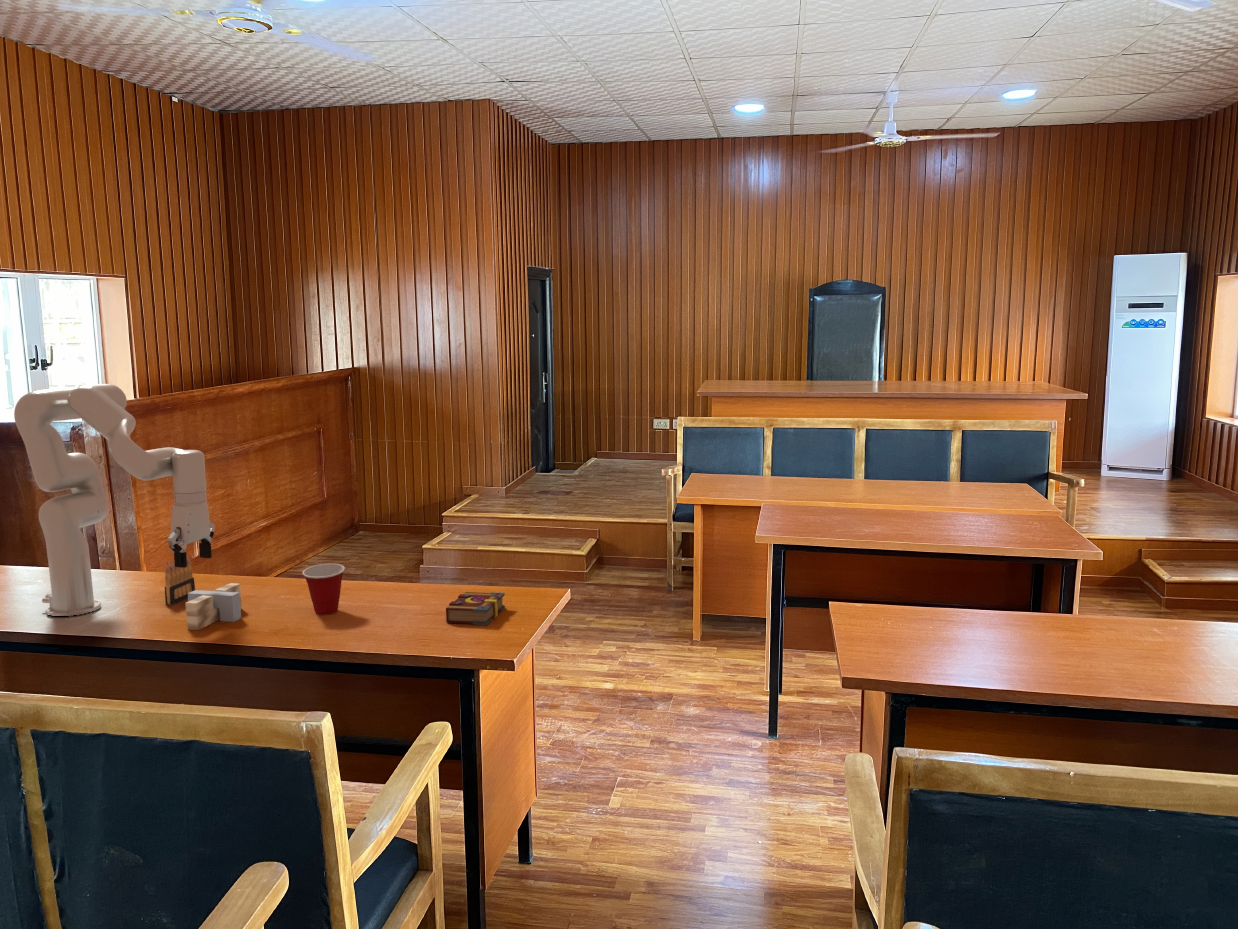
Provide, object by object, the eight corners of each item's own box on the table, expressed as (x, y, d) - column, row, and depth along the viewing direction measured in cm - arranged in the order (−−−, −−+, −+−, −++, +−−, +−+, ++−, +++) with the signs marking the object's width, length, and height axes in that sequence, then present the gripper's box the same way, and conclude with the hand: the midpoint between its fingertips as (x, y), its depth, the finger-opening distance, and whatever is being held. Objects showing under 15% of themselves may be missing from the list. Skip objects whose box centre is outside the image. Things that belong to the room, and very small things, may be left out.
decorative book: (445, 624, 223) (444, 605, 223) (466, 605, 239) (466, 588, 238) (487, 626, 221) (486, 607, 221) (506, 607, 237) (506, 589, 236)
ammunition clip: (171, 605, 241) (167, 563, 239) (165, 605, 241) (161, 563, 240) (195, 594, 252) (192, 553, 250) (190, 594, 252) (186, 553, 250)
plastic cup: (298, 618, 228) (295, 574, 227) (313, 606, 239) (311, 563, 237) (339, 618, 228) (336, 574, 226) (352, 605, 239) (350, 563, 237)
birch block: (198, 630, 220) (196, 603, 219) (187, 629, 220) (185, 602, 219) (241, 608, 237) (239, 583, 236) (231, 608, 238) (230, 583, 237)
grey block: (189, 619, 229) (187, 593, 228) (197, 615, 232) (195, 590, 231) (233, 621, 226) (232, 595, 225) (241, 618, 229) (239, 592, 228)
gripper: (199, 491, 234) (202, 553, 237) (153, 503, 217) (157, 569, 220) (224, 493, 233) (227, 555, 235) (180, 505, 216) (184, 572, 219)
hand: (193, 562), depth 228 cm, fingers open, 9 cm apart
